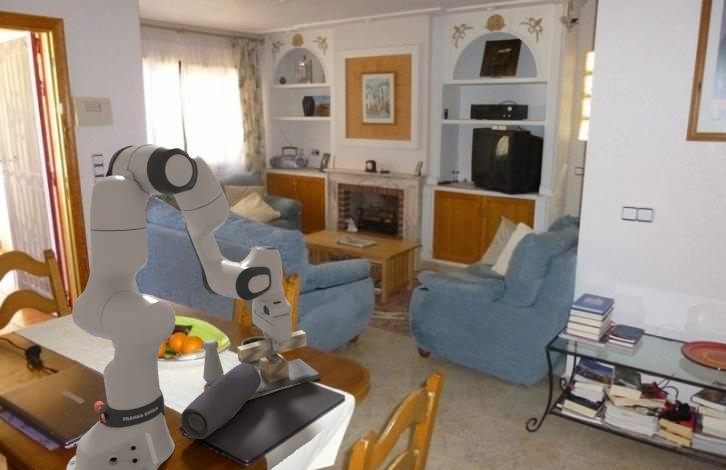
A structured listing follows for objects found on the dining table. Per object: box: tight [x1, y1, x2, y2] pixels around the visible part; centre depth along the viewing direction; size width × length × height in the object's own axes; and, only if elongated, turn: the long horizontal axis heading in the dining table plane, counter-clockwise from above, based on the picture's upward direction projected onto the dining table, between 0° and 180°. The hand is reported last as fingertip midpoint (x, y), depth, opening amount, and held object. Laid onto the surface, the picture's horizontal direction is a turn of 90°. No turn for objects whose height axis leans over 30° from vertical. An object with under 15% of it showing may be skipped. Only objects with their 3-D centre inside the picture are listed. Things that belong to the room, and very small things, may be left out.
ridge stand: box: [255, 353, 321, 394], centre depth 158 cm, size 22×13×8 cm, turn 123°
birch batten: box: [236, 329, 307, 364], centre depth 157 cm, size 20×3×4 cm, turn 123°
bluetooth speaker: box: [180, 362, 261, 440], centre depth 138 cm, size 23×9×10 cm, turn 159°
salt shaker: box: [202, 338, 225, 386], centre depth 158 cm, size 6×6×13 cm
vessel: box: [241, 335, 265, 366], centre depth 173 cm, size 12×9×6 cm
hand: (272, 347), depth 157 cm, fingers closed on birch batten, 3 cm apart
